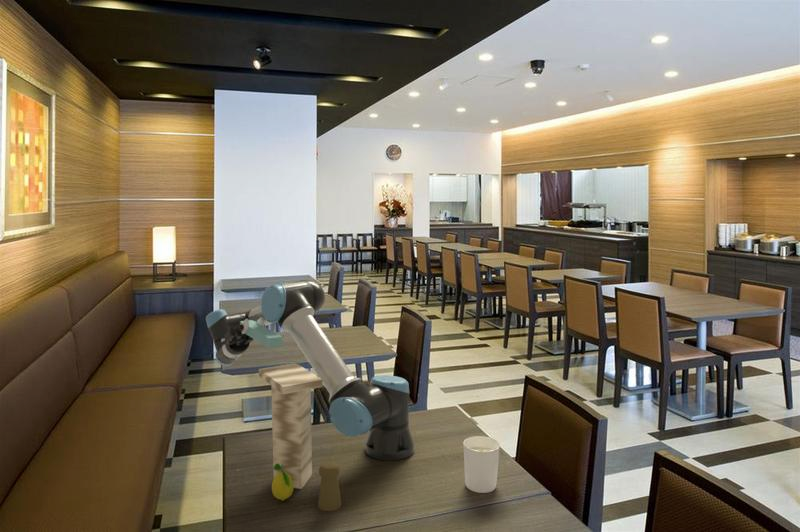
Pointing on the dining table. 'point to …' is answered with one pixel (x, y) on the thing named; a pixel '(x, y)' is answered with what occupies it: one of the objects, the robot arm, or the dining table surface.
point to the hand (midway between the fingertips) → (255, 322)
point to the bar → (263, 335)
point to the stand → (292, 419)
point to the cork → (329, 487)
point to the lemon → (282, 484)
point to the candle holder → (481, 463)
